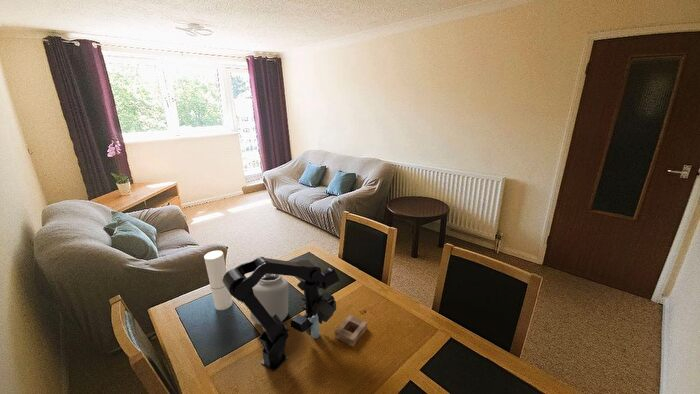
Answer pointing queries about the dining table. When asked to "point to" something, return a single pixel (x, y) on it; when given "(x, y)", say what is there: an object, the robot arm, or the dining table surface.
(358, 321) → the socket block
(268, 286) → the jar
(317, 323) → the dowel
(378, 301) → the dining table surface
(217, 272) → the cylindrical container
